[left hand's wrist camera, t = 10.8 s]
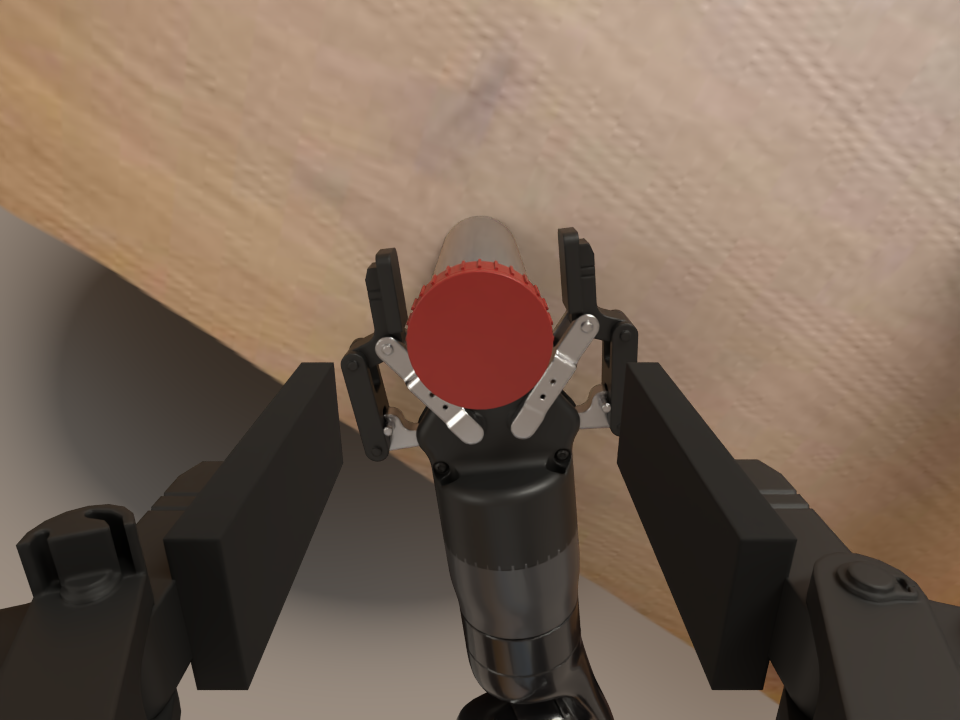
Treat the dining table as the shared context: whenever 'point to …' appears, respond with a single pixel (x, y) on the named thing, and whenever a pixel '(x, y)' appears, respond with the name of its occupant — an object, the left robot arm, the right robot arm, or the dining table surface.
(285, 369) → the dining table surface
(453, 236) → the grey bottle
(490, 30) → the dining table surface
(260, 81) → the dining table surface
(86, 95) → the dining table surface
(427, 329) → the lid
